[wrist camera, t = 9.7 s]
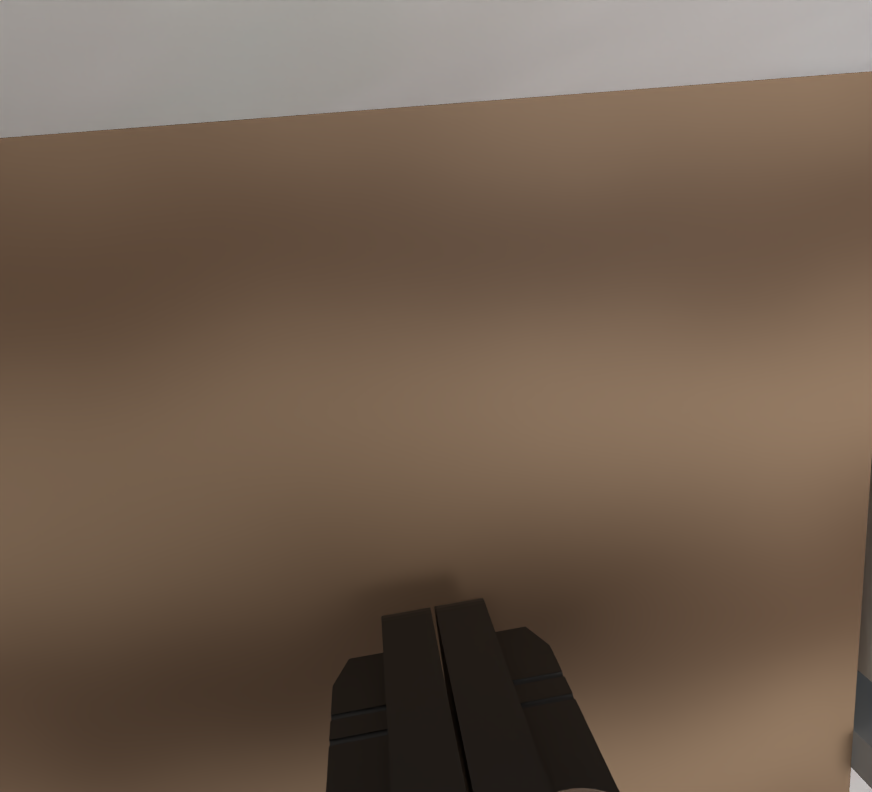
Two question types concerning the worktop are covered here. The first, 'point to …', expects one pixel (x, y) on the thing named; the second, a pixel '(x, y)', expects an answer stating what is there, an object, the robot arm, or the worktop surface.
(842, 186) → the walnut board
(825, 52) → the worktop surface
